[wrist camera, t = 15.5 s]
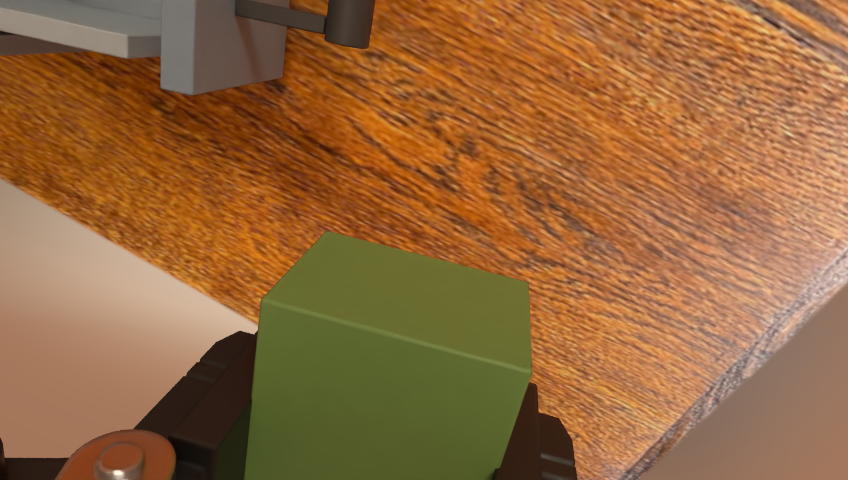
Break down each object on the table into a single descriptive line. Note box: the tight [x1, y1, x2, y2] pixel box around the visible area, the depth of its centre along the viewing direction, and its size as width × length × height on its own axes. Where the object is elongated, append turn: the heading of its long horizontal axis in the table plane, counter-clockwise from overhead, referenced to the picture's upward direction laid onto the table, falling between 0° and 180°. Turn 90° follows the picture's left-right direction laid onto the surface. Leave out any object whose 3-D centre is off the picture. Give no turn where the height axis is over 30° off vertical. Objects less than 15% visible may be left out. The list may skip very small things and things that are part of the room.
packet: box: [244, 231, 532, 480], centre depth 10 cm, size 6×4×3 cm
